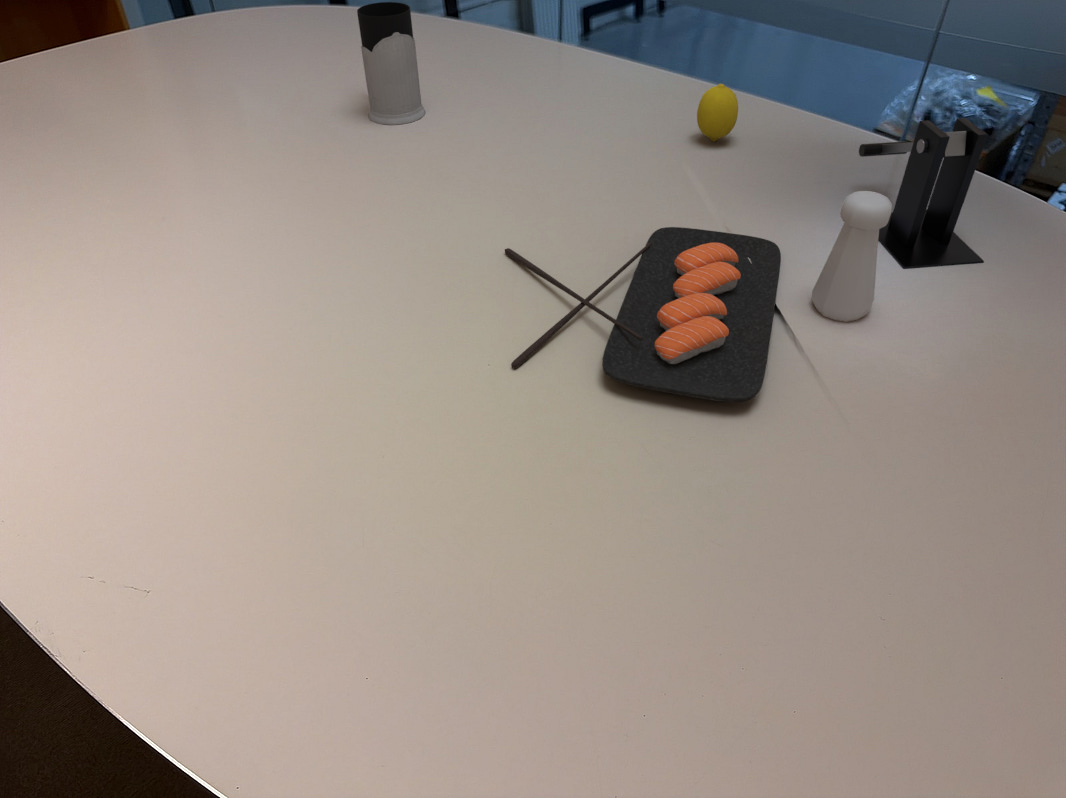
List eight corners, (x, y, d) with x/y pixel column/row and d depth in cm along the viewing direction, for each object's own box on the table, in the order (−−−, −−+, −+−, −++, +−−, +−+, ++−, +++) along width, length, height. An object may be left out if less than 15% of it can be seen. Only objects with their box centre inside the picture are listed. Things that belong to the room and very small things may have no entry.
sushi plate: (757, 422, 70) (764, 387, 67) (433, 363, 77) (429, 330, 74) (780, 254, 91) (787, 224, 88) (525, 221, 98) (524, 191, 95)
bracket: (854, 224, 96) (885, 108, 87) (926, 218, 97) (964, 103, 88) (900, 277, 87) (940, 154, 78) (980, 271, 87) (1029, 148, 79)
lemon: (741, 142, 114) (750, 85, 109) (713, 152, 112) (720, 94, 107) (714, 130, 118) (721, 74, 113) (685, 139, 115) (692, 82, 110)
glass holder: (381, 129, 120) (365, 21, 110) (347, 99, 130) (330, -2, 120) (434, 117, 123) (424, 11, 114) (398, 89, 133) (386, -11, 123)
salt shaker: (802, 300, 84) (829, 182, 75) (858, 300, 84) (892, 182, 75) (815, 333, 79) (846, 212, 71) (874, 333, 79) (912, 212, 71)
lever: (857, 161, 97) (858, 140, 97) (901, 158, 98) (903, 137, 97) (929, 157, 83) (930, 133, 82) (980, 154, 83) (982, 129, 82)
